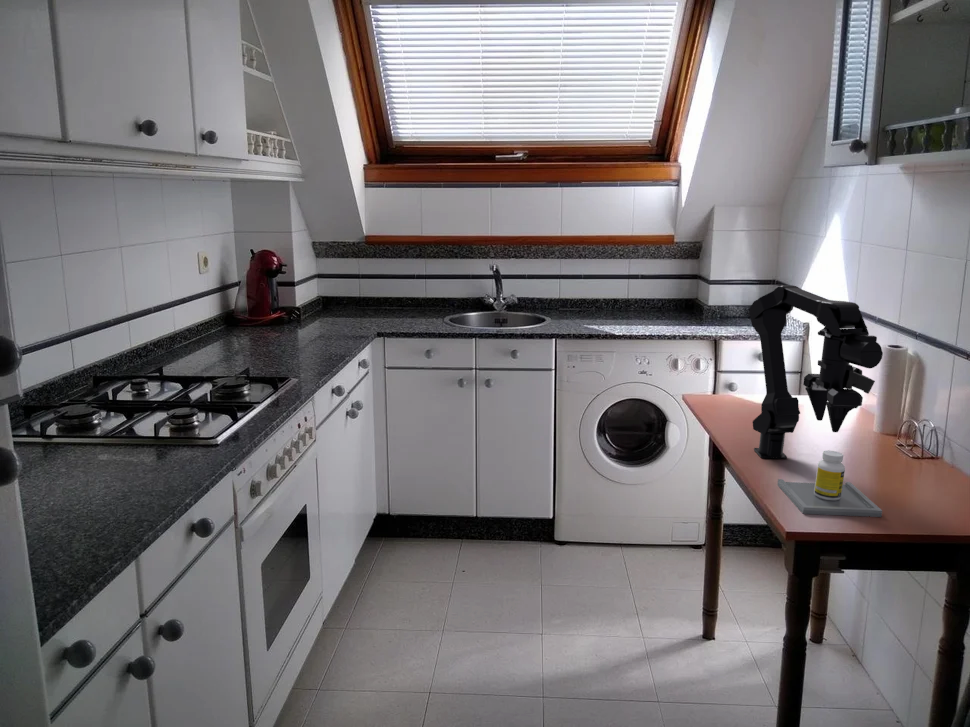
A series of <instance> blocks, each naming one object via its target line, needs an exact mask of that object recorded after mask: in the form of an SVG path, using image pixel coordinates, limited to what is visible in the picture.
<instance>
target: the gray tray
mask: <svg viewBox="0 0 970 727" xmlns="http://www.w3.org/2000/svg"><path fill="white" fill-rule="evenodd" d="M777 486H778V488H779V489H780V490H781V491H782V492H783V493H784V494H785V496H787V497H788V500H790V501H791V502H792V503H793V505H795V507H796V508H797V509H798V510H799V511H800V512H801V513H802V514H805V515H823V516H824V515H828V516H849V517H850V516H851V517H869V516H870V517H872V518H876V517H877V518H883V517H882V515H883V510H882V508H880V507H879V506H878V505H877V504H876V503H874V501H872V500H871V499H870V498H869V497H867V495H865V494H864V493H863V492H862V491H861V490H860V489H859V488H857V487H856V486H855V485H854V484H853V483H852V482H850V481H845V482H844V483H843V485H842V492H841V498H840V499H839V500H835V501H832V500H824V499H821V498H818V497H817V496H815V495H814V487H815V482H800V481H799V482H795V481H794V482H793V481H785V480H784V479H783V478H778V479H777ZM870 517H869V518H870Z"/></svg>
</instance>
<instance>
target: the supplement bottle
mask: <svg viewBox="0 0 970 727" xmlns="http://www.w3.org/2000/svg"><path fill="white" fill-rule="evenodd" d="M843 461H844V454H843V453H842V452H840V451H837V450H830V449H829V450H824V451H823V453H822V459H821V460H820V461H818V463H817V467H816V475H815V482H814V483H815V487H814V495H815V496H817V497H818V498H821V499H824V500H832V501H835V500H839V499H840V498H841V492H842V485H843V484H844V477H845V472H846V467H845V465H844V463H842V462H843Z"/></svg>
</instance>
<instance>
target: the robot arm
mask: <svg viewBox="0 0 970 727" xmlns="http://www.w3.org/2000/svg"><path fill="white" fill-rule="evenodd" d="M794 308H795V309H797V310H800V311H803V312H806V313H808V314H809V315H813V316H814V317H815V318H816V321H817V322H818V323H819V324H821V325H822V326H823V328H822V329H821V330H818V331H817V335H818V336H822V337H823V344H822V345H823V346H822V353H821V354H822V355H821V360H820V359H819V360H817V365H818V366H820V367H819V368H820V370H819V373H807V374H806V375H805V376H804V378H803V386H804V387H805V391H806V393H807V395H808V398H809V401H810V403H811V406H812V410H813V412H814V415H815V418H816V420H817V421H823V419H824V416H825V413H826V412H825V411H826V410H827V413H828V418H829V422H830V428H831V432H832V433H839V432H840V429H841V427H842V425H843V423H844V421H845V419H846V417H847V415H848V414H849V412H850V411H852V410H854V409H858V407H861V406H863V398H864V397H863V395H862V394H861V393H860V392H858V391H857V390H856V389H858V390H860V391H862V392H863V393H865V394H867V395H868V394H870V392H871V390H872V388H873V386H874V385H875V383H876V381H875V380H873V379H872V378H870V377H868V376H866V375H864V374H863V370H862V369H861V368H858V367H856V366H859V367H862V368H866V369H874V368H875V367H877V366H878V365H879V364H880V363H881V361H882V359H883V355H884V352H883V349H882V347H881V345H880V343H878V342H877V339H878V337H877V335H870V334H869V329H868V326H867V325H866V323H865V320H864V317H863V314H862V311H861V310H860V306H859V305H858V304H857V303H856V302H852V301H845V300H833V299H828V298H825V297H823V296H821V295H818V294H815V293H813V292H810V291H807V290H805V289H801V288H800V287H799V286H797V285H779V286H778V287H776V288H775V289H773V290H772V291H770V292H769V293H766V294H764V295H762V296H760V297H759V298H758V299H755V300H754V301H753V302H752V303H751V305H750V307H749V312H748V313H749V317H750V321H751V322H750V324H751V326H752V328H753V329H754V330H755V332H756V333H757V334H758V335H759V339H760V348H761V355H762V356H761V357H762V364H763V373H764V374H763V375H764V382H765V389H766V390H765V391H766V394H765V396H764V398H763V399H762V400H763V401H762V403H761V407H760V408H761V413H760V414H759V415H757V416H756V417H755V418H754V419H753V420H752V430H753V431H755V432H757V433H760V436H759V444H758V447H754V448H753V450H754V452H755V453H756V454H757V455H758V456H759V457H760V458H762V459H776V460H777V459H778V460H782V459H783V460H787V459H788V456H787V455H786V454H785V453H784V446H785V445H784V444H785V437H786V434H787V433H789V434H791V433H794V432H795V429H796V427H797V424H798V422H799V420H800V415H801V411H800V406H799V398H798V397H797V396H795V397H793V396H792V394H791V393H790V392H789V388H788V381H787V372H786V365H785V363H786V362H785V354H784V347H783V346H784V345H783V341H782V340H783V339H782V332H783V331H784V328H785V326H786V324H787V315H788V314H789V313H790V312H792V311H793V309H794ZM851 364H852V365H851ZM853 365H855V366H853ZM854 388H855V389H854Z"/></svg>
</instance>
